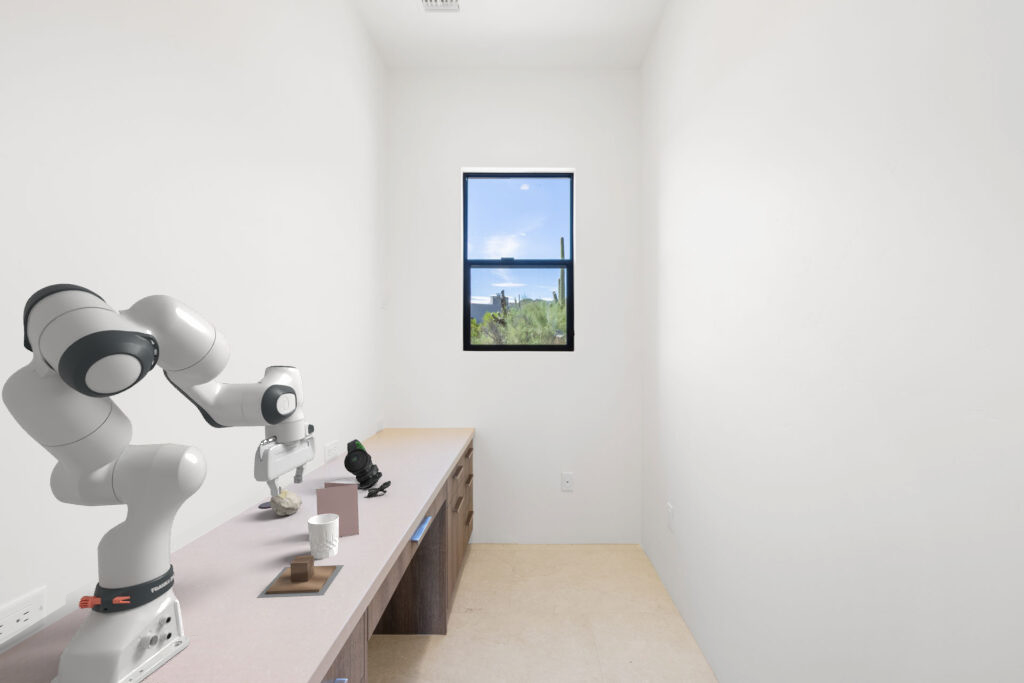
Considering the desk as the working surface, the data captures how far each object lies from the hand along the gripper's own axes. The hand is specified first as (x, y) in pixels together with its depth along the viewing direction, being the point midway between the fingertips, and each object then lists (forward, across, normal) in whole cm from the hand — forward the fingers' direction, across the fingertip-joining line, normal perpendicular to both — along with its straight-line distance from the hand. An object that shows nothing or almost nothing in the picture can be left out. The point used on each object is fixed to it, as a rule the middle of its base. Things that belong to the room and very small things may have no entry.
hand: (287, 488), depth 122 cm
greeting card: (+23, +26, +2) cm, 35 cm away
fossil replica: (+23, +44, +29) cm, 58 cm away
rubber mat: (+22, -1, -4) cm, 23 cm away
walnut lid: (+22, -1, -4) cm, 22 cm away
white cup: (+23, +14, -1) cm, 27 cm away
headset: (+24, +74, +12) cm, 78 cm away
